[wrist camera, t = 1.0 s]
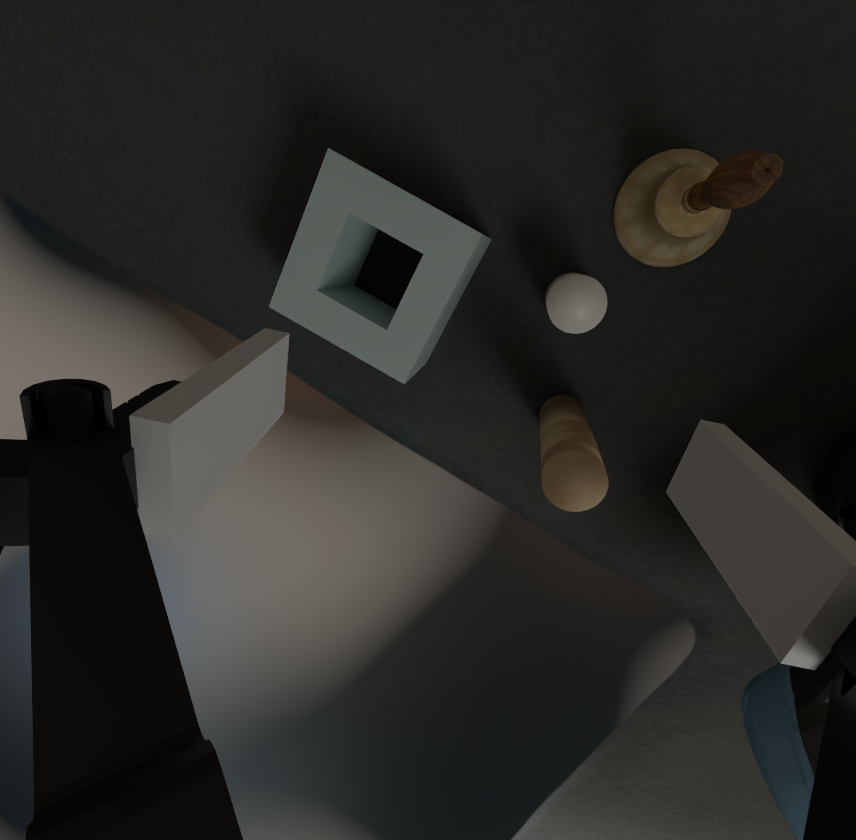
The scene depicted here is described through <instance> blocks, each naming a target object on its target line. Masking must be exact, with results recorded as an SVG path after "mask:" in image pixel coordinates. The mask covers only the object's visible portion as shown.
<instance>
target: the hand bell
mask: <svg viewBox="0 0 856 840" xmlns="http://www.w3.org/2000/svg"><path fill="white" fill-rule="evenodd" d="M782 170H783V161H782V159H781V158H780V157H779V156H778V155H776V154H767V153H765V152H762V151H757V150H750V151H744V152H740V153H737V154H735V155H733V156H731V157H729V158H728V159H726V160H724V161H723V162H721V163H720V164H719V162H718V161H716V160H715V159H714V158H713V157H711V156H710V155H708V154H706V153H704V152H701V151H698V150H694V149H688V148H681V149H671V150H667V151H664V152H660V153H658V154H655V155H653V156H652V157H650V158H648V159H647V160H645V161H644V162H642V163H641V164H640V165H638V166H637V167H636V168H635V169H634V170H633V171H632V172H631V173H630V175H629V176H628V177H627V179H626V180H625V182H624V183H623V185H622V186H621V188H620V190H619V193H618V195H617V198H616V201H615V206H614V212H613V221H614V229H615V233H616V236H617V238H618V241H619V242H620V244H621V246H622V247H623V249H624V250H625V251H626V252H627V253H628V254H629V255H630V256H631V257H633V258H634V259H636V260H637V261H639V262H641V263H643V264H646V265H650V266H654V267H673V266H678V265H681V264H685V263H687V262H690V261H692V260H694V259H696V258H697V257H699V256H700V255H702V254H703V253H705V252H706V251H707V250H708V249H709V248H710V247H712V246H713V244H714V243H715V242H716V241H717V240H718V239H719V237H720V236H721V234H722V233H723V231H724V229H725V227H726V225H727V223H728V221H729V218H730V214H731V210H732V209H736V208H740V207H744V206H747V205H749V204H751V203H753V202H755V201H757V200H758V199H760V198H761V197H762V196H763V195H764V194H765V193H766V192H767V191H768V190H769V189H770V188H771V186H772V185H773V183H774V181H775V180H777V179H778V178H779V176H780V175H781V173H782Z"/></svg>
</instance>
